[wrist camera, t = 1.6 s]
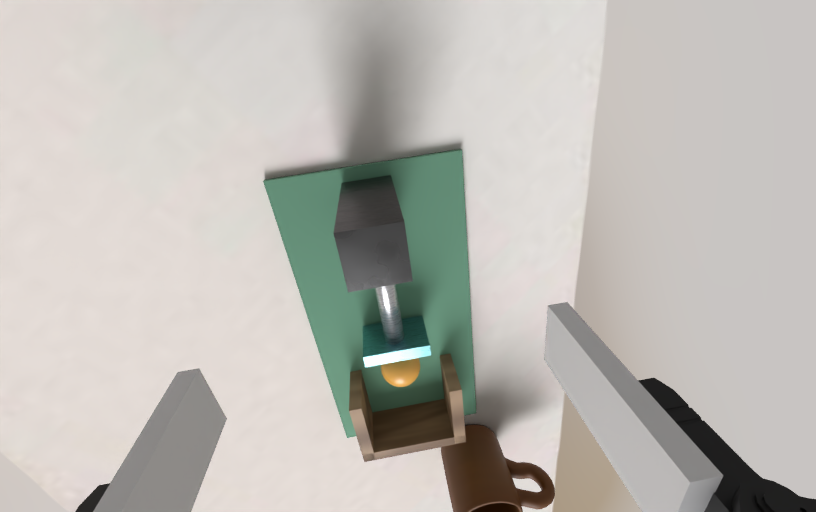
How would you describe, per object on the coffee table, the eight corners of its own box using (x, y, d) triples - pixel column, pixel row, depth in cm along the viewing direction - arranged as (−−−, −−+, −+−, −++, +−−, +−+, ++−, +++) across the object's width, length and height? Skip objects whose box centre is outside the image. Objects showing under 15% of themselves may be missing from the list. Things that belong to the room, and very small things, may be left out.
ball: (376, 341, 37) (378, 369, 33) (414, 334, 37) (420, 362, 34) (383, 369, 39) (385, 399, 35) (419, 362, 39) (425, 391, 35)
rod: (329, 184, 29) (315, 236, 20) (403, 173, 29) (421, 218, 20) (364, 334, 36) (366, 420, 27) (423, 324, 36) (443, 405, 27)
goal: (350, 371, 38) (348, 410, 34) (450, 353, 39) (461, 389, 35) (364, 421, 42) (364, 461, 38) (455, 403, 43) (466, 442, 38)
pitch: (264, 179, 29) (263, 181, 28) (460, 149, 29) (461, 150, 29) (347, 434, 44) (347, 437, 43) (475, 409, 44) (476, 413, 44)
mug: (528, 410, 46) (566, 486, 38) (526, 447, 49) (560, 523, 41) (437, 428, 45) (454, 508, 37) (441, 464, 49) (458, 544, 41)
